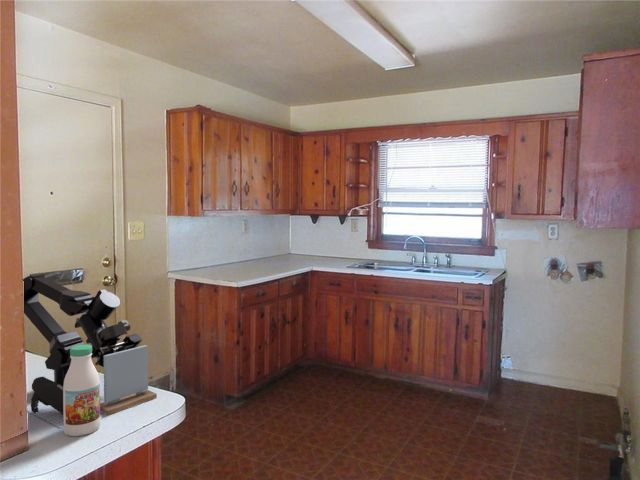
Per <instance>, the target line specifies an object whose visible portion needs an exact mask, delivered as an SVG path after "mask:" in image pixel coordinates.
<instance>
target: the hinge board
mask: <svg viewBox="0 0 640 480" xmlns="http://www.w3.org/2000/svg"><path fill="white" fill-rule="evenodd" d="M154 398H155V399H157V392H154V391H152V390H150V389H147V392H145V393H143V394H140V395H136V393H135V394H132V395H129V396H126V397H123V398H120V401H119V402H116V403H114V404H111V405H108V403H105V402H104V401H103V402H100V413H103V414H105V415H107V416H110V415H113V414H116V413H120V412H122V411H124V410H127V409H129V407H130V408H133V407H135V406H137V405H141V404H143V402H144V403H146V402H149V401H151V400H155V399H154ZM132 406H133V407H132Z"/></svg>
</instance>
